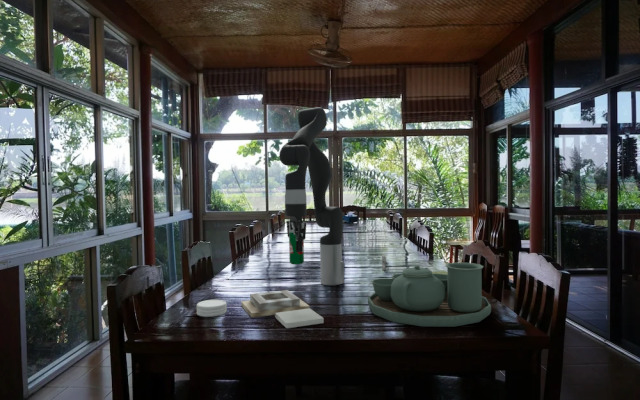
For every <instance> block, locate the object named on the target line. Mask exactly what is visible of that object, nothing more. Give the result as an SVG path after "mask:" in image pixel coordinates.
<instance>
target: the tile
mask: <svg viewBox="0 0 640 400" xmlns="http://www.w3.org/2000/svg"><path fill="white" fill-rule="evenodd" d="M274 317H275V319H276V320H277V321H278V322H279V323H280V324H281V325H282V326H284V327H285V328H286V329H291V328H297V327H305V326H311V325H312V326H313V325H319V324H324V320H325V319H324V317H323V316H321V315H320V314H318V313H317V312H315V311H314V310H313V309H312V308H310V307H309V308H308V309H301V310H293V311H285V312H278V313H275V315H274Z"/></svg>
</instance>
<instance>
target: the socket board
mask: <svg viewBox="0 0 640 400" xmlns="http://www.w3.org/2000/svg"><path fill="white" fill-rule="evenodd" d="M249 299H250V300H244V301H243V300H241V301H240V302H241V307H242V308H243V309H244V310H245V312H246V313H247V314H248V315H249V316H250V317H251V318H252V319H253V318H260V317H267V316H275V313H278V312H285V311H293V310H301V309H308V308H310V305H309V304H308V303H306V302H305V301H303V300H302V299H301V298H300V297H298V296H297V295H296V294H294V293H293V292H291V291H289V290H288V289H284V290H275V291H266V292H258V293H249Z"/></svg>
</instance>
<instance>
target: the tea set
mask: <svg viewBox="0 0 640 400" xmlns="http://www.w3.org/2000/svg"><path fill="white" fill-rule="evenodd" d="M445 267H446V269H447V271H446V272H447V273H448V275H446V274H432V272H433V271H432V270H430V269H429V268H427V267H425V268H424V267H421V266H419V265H415V266H414V267H408V268H404V269H403V270H402V273H397V274H393V275H391V278H389V277H386V278H385V277H384V278H376V279H373V280H372V281H371V283H372V286H373V290H374V293H372V294H370V296H367V305H368V306H369V308H370V310H371V312H372V313H373V315H375V316H378V317H379V318H383V319H384V320H388V321H389V322H392V323H398V324H404V325H409V326H410V325H411V326H418V327H423V328H424V327H431V328H432V327H434V328H435V327H437V328H438V327H439V328H441V327H442V328H443V327H444V328H445V327H446V328H447V327H448V328H450V327H452V328H453V327H459V326H460V327H461V326H466V325H470V324H475V323H477V324H478V323H480V322H481V321H483V320H484V319H485V318H487V317H489V316H490V314H491V312H492V305H491V304H490V302H489V301H488V299H487V297H486V296H483V295H482V285H483V283H482V280H483V278H482V275H483V274H482V269H483V268H484V265H482V264H478V263H473V262H446V264H445Z"/></svg>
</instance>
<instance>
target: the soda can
mask: <svg viewBox="0 0 640 400" xmlns="http://www.w3.org/2000/svg"><path fill="white" fill-rule="evenodd" d="M296 232H298V231H296ZM300 236H301V235H300ZM304 242H305V241H304V240H303V251H302V252H296V238H295V235H294V234H293V230H292V229H290V232H289V237H288V243H289V244H288V246H289V248H288V249H289V251H288V253H289V255H288V257H289V263H290V265H302V264H304V261H305V246H304Z"/></svg>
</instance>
